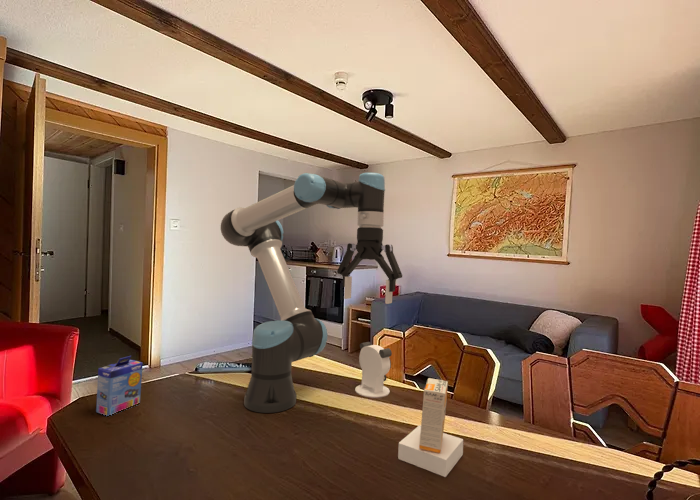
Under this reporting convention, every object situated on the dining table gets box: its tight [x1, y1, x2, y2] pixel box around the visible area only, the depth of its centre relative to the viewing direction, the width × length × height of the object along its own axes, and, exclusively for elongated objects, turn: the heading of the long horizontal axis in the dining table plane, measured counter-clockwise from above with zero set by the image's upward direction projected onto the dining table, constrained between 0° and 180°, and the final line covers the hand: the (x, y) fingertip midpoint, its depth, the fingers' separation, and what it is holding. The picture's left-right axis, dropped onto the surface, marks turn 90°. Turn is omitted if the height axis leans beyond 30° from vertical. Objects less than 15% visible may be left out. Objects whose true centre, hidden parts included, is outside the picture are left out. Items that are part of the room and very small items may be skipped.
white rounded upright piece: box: [354, 341, 393, 399], centre depth 124 cm, size 12×11×15 cm
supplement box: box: [419, 377, 449, 453], centre depth 84 cm, size 8×5×13 cm, turn 162°
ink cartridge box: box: [95, 355, 143, 417], centre depth 104 cm, size 10×6×14 cm, turn 158°
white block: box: [397, 424, 464, 478], centre depth 86 cm, size 11×11×4 cm
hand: (367, 300), depth 109 cm, fingers open, 13 cm apart
